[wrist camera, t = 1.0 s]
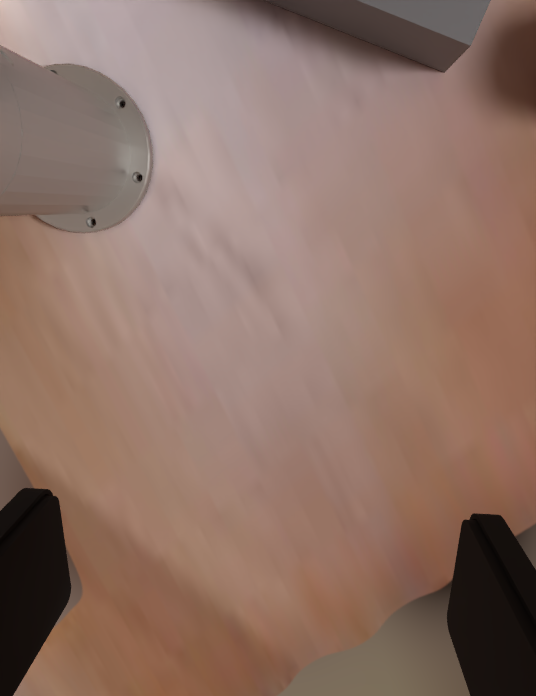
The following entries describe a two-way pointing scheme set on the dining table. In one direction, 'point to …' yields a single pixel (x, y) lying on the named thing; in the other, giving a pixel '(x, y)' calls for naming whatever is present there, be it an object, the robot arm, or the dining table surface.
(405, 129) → the dining table surface
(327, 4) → the switch box
